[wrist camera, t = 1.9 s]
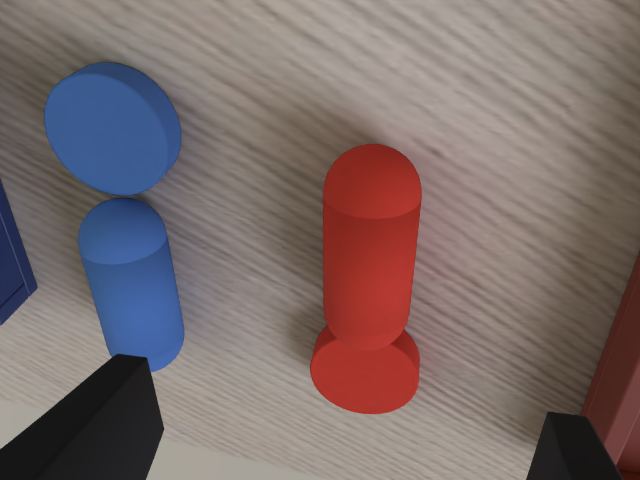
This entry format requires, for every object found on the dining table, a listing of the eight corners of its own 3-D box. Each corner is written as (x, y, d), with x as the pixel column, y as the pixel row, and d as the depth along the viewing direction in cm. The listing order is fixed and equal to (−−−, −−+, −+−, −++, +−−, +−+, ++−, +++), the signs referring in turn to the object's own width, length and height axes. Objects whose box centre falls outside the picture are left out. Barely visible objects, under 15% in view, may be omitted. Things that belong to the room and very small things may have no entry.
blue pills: (49, 58, 15) (-12, 87, 13) (172, 64, 14) (129, 96, 12) (121, 331, 20) (86, 381, 18) (213, 342, 20) (187, 396, 18)
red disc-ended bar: (415, 397, 19) (411, 458, 17) (315, 384, 20) (301, 441, 18) (448, 133, 14) (448, 176, 12) (312, 124, 15) (291, 164, 13)
